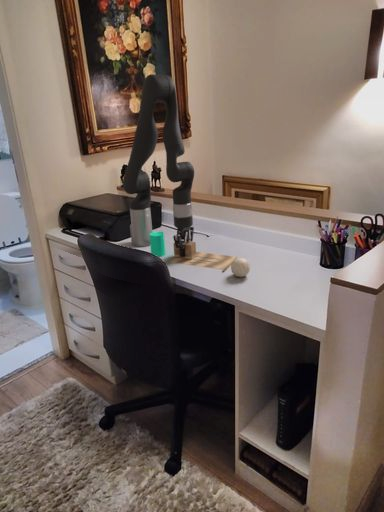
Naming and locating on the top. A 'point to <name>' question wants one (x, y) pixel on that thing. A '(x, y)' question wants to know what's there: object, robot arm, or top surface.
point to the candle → (157, 243)
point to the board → (207, 260)
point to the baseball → (240, 267)
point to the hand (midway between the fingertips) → (185, 254)
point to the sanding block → (186, 250)
